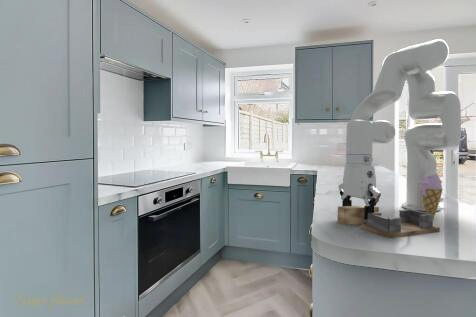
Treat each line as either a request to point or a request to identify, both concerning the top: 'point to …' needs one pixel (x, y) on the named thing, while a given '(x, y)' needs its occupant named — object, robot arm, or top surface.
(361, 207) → the beige rectangular block
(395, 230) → the rail
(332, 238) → the top surface
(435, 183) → the ice cream cone
